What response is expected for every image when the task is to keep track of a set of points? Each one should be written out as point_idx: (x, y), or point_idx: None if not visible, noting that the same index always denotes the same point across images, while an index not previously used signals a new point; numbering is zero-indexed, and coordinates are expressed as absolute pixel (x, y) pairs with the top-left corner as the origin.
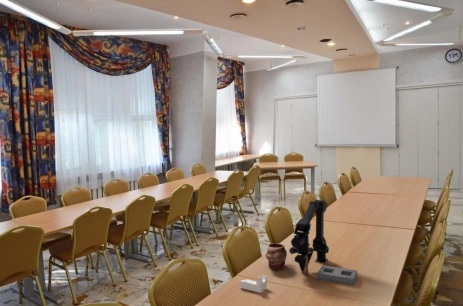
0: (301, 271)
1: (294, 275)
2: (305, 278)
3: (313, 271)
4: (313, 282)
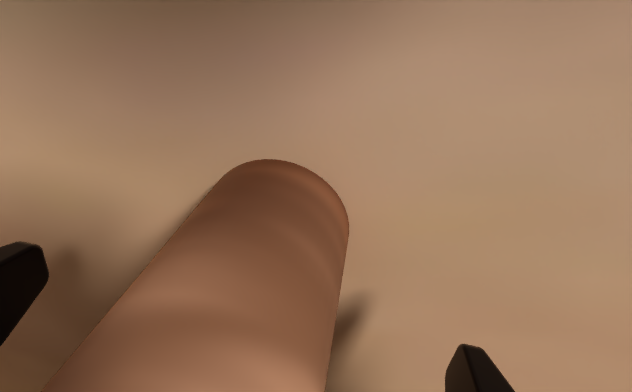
0: (232, 184)
1: (84, 3)
2: (73, 240)
3: (406, 353)
4: (19, 333)
